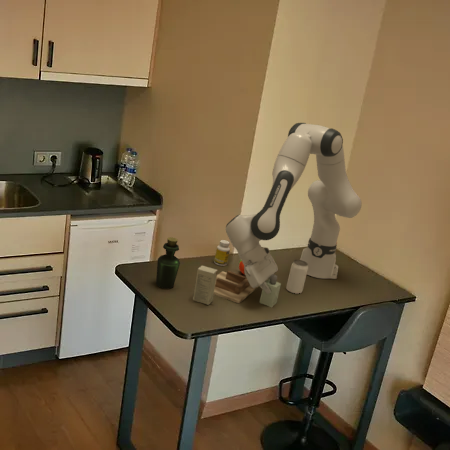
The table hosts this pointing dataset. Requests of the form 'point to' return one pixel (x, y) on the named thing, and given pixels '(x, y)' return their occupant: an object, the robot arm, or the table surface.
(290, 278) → the can
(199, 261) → the table surface
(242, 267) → the clementine
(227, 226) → the robot arm
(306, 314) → the table surface
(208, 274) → the skincare box
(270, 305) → the sage bottle
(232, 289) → the u rest
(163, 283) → the potion bottle
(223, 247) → the supplement bottle
